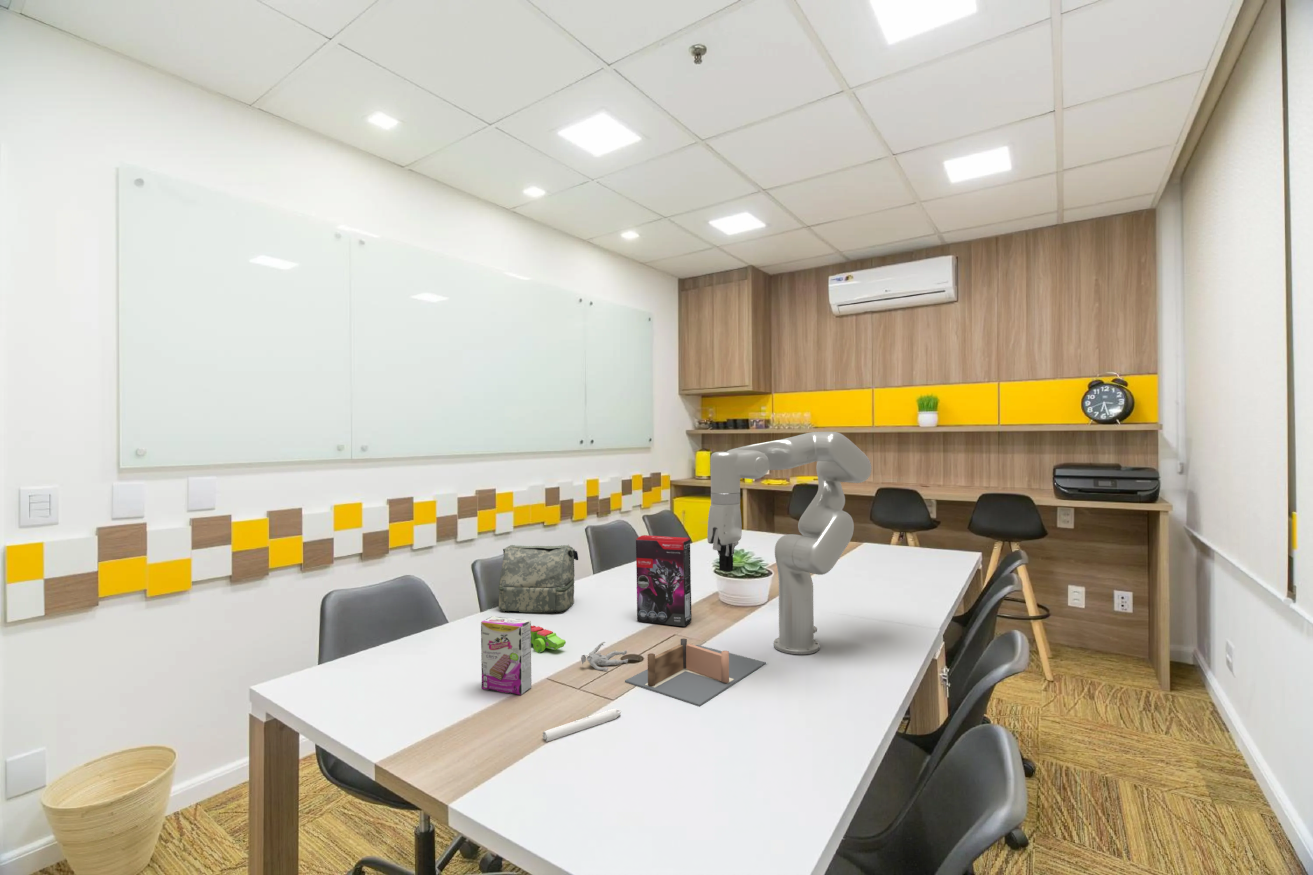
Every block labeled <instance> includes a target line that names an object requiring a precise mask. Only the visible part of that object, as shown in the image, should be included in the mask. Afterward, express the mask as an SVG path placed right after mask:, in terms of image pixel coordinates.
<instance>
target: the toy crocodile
mask: <svg viewBox="0 0 1313 875" xmlns="http://www.w3.org/2000/svg"><path fill="white" fill-rule="evenodd" d="M566 643H567V641H566V640H565V639H562V638H561V637H559V636H558V635H557V633H556V632H554V631H553V630H549V629H546V628H544V627H541V626H540V625H537V626H536V625H531V645H532V646H533V650H534V652H536V653H538V654H539V653H542V652H544V651H545V650H546V649H550V650H552V651H553V650H554V651H556V650H558V649H560V648H564V646H565V645H566Z"/></svg>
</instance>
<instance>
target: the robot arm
mask: <svg viewBox="0 0 1313 875" xmlns="http://www.w3.org/2000/svg"><path fill="white" fill-rule="evenodd" d="M815 462H816V468H815V470H816V474H817V482H818V483H817V484H818V488H817V492H816V494H815V496H814V497H813V499H812V500H811V502H810V503H809V504H808V506H807V507H806V509H805V510H804V512H803V513H802V514H801V516H800V518H799V520H798V523H797V528H798V532H799V533H800V534H801V535H800V534H791V533H790V534H789V533H788V534H785V535H783V536H781V537H779V538H778V540H776V543H775V546H774V558H775V563H776V569H777V575H778V577H777V578H778V637H777V638H775V639H774V640H773V647H774V649H776V650H778V651H779V652H782V653H786V654H790V655H811V654H814V653H817V652H818V651H819V650H820V648H821V647H820V643H819V642H818V641H817V640H816V639H814V638H815V636H814V635H815V633H817V632H818V628H817V626H815V625H814V582H813V579H812V576H811V574H812V575H817V576H823V575H826V574H827V573H829V572H830V571H831V570H832V569H833V568H834V567H835V565H836V564H837V562H838V561H839V559H840V557H841V555H843V553H844V552H845V550H846V548H847V546H848V545H849V543H850V542H851V540H852V538H853V534H854V530H855V523H854V520H853V517H852V516H851V514H849V513H848V512H847V511H844V510H843V509H844V507H845V504H846V496H845V492H844V489H843V487H842V483H849V484H850V483H853V484H859V483H860V484H861V483H863V482H865V481H867V480H868V479H869V478H870V477H871V473H872V463H871V461H870V459H869V457H868V456H867V454H866V453H865V452H863V451H862V450H861V449H860V448H859V447H858V446H857V445H856V444H855V443H854V442H853V441H851V440H850V438H848V437H846V436H845V435H844V434H842V433H841V432H838V431H812V432H807V433H803V434H798V435H795V436H791V437H786V438H781V439H776V440H771V441H766V442H760V443H754V444H748V445H743V446H739V447H736V448H731V449H728V450H727V451H716V452H713V453H712V454H711V456H710V506H709V511H708V519H707V543H708V544H709V545H710V544H711V545H712V550H713V551H717V554H718V561H719V562H718V565H719V566H718V567H719V568H718V569H719V571H723V572H732V571H733V570H734V555H735V547H737V546H738V545H739V543H740V542H739V541H741V539H742V535H743V534H742V528H743V527H742V525H743V524H742V513H741V512H742V511H741V479H746V480H747V479H749V480H758V479H761V478H763V477H764V476H766V474H767V473H768V472H769V471H781V470H783V471H784V470H790V469H794V468H797V467H801V466H804V465H808V464H812V463H815Z"/></svg>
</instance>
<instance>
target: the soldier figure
mask: <svg viewBox="0 0 1313 875" xmlns="http://www.w3.org/2000/svg"><path fill="white" fill-rule="evenodd" d="M605 643H606V641H603V642H601V643H599V644H598V645H597V646H596V647H595V648H594V649H593V650H591V651H590V652H588V653H589V654H588V655H585V654H583V655H582V654H581V657H580V661H581V664H582V665H583V664H584V663H585V662H586V660H587V662H588V663H589V665H590V666H591V667H592V668H594V669H595V670H597V671H605V672H607V671H608V670H609V668H608V666H612V665H616V666H617V665H620V664H622V663H623V664H627V663H628V662H629V659H628V658H626V659H623V660H621V659H620V660H619V659H616V658H614V657H616V656H620V655H622V656H625V655H626V654H627V653H628V650H627V649H626V650H623V651H618V650H612V651H610V652H608V653H607V654H606V655H605V654H601V653H598V652H599V650H600V649H601V647H602V646H604V644H605ZM612 658H613V659H612ZM601 666H603V667H601Z"/></svg>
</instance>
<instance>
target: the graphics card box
mask: <svg viewBox="0 0 1313 875" xmlns="http://www.w3.org/2000/svg"><path fill="white" fill-rule="evenodd" d="M635 554H636V555H635V557H636V558H635V561H636V564H635V565H636V566H635V569H636V618H637V620H636V621H637V622H641V623H650V624H660V625H669V626H676V627H686V626H688V625H689V624H690V623H691V622H692V619H693V618H692V584H691V582H692V580H691V578H692V577H691V574H692V573H691V568H692V567H691V538H690V537H682V536H681V537H679V536H663V535H648V534H647V535H645V534H644V535H642V534H641V535H640V536H638V537H637V538H636V539H635Z"/></svg>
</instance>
